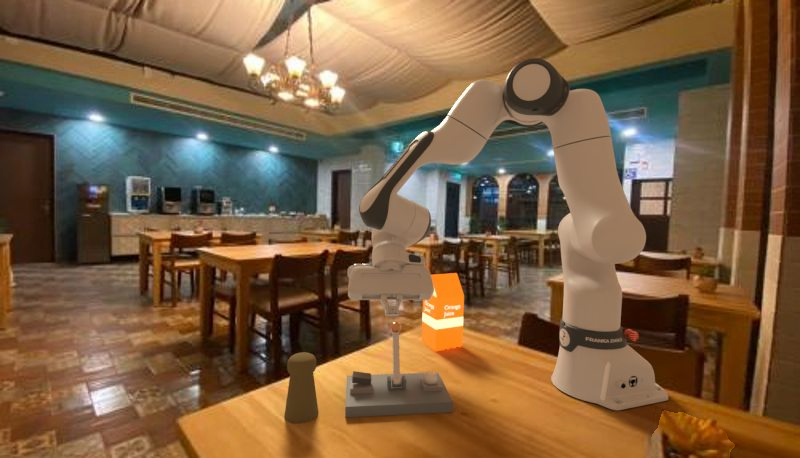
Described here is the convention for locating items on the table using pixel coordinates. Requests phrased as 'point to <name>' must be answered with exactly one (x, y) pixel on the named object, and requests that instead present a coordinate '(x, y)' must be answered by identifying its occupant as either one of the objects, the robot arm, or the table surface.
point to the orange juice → (444, 313)
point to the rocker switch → (361, 378)
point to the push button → (430, 378)
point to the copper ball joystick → (396, 355)
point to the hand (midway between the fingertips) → (392, 315)
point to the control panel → (396, 396)
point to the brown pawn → (301, 389)
